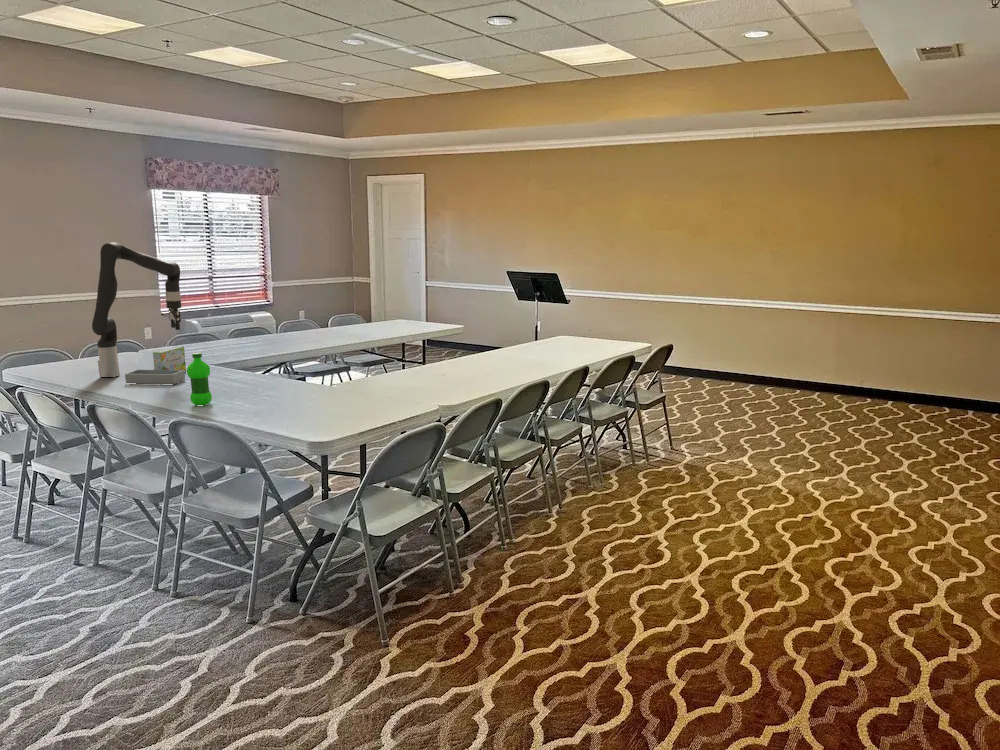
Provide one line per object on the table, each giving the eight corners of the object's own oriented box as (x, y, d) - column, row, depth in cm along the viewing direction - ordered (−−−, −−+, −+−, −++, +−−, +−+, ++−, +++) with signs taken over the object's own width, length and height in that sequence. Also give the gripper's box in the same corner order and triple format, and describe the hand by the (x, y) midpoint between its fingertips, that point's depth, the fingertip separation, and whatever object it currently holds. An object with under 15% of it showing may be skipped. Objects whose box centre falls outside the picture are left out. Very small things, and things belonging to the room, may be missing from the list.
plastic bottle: (194, 402, 356) (189, 351, 350) (216, 402, 356) (211, 351, 351) (186, 408, 346) (181, 355, 341) (209, 407, 347) (205, 355, 341)
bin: (126, 384, 394) (124, 374, 393) (138, 379, 405) (137, 369, 404) (174, 385, 392) (173, 374, 391) (185, 380, 403) (183, 370, 402)
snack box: (163, 379, 407) (160, 352, 403) (154, 379, 408) (151, 352, 404) (187, 371, 427) (184, 345, 424) (178, 371, 428) (175, 345, 425)
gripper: (162, 298, 408) (165, 327, 412) (169, 301, 397) (171, 331, 401) (177, 297, 413) (179, 326, 416) (184, 300, 402) (186, 330, 405)
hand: (175, 328), depth 408 cm, fingers open, 8 cm apart
